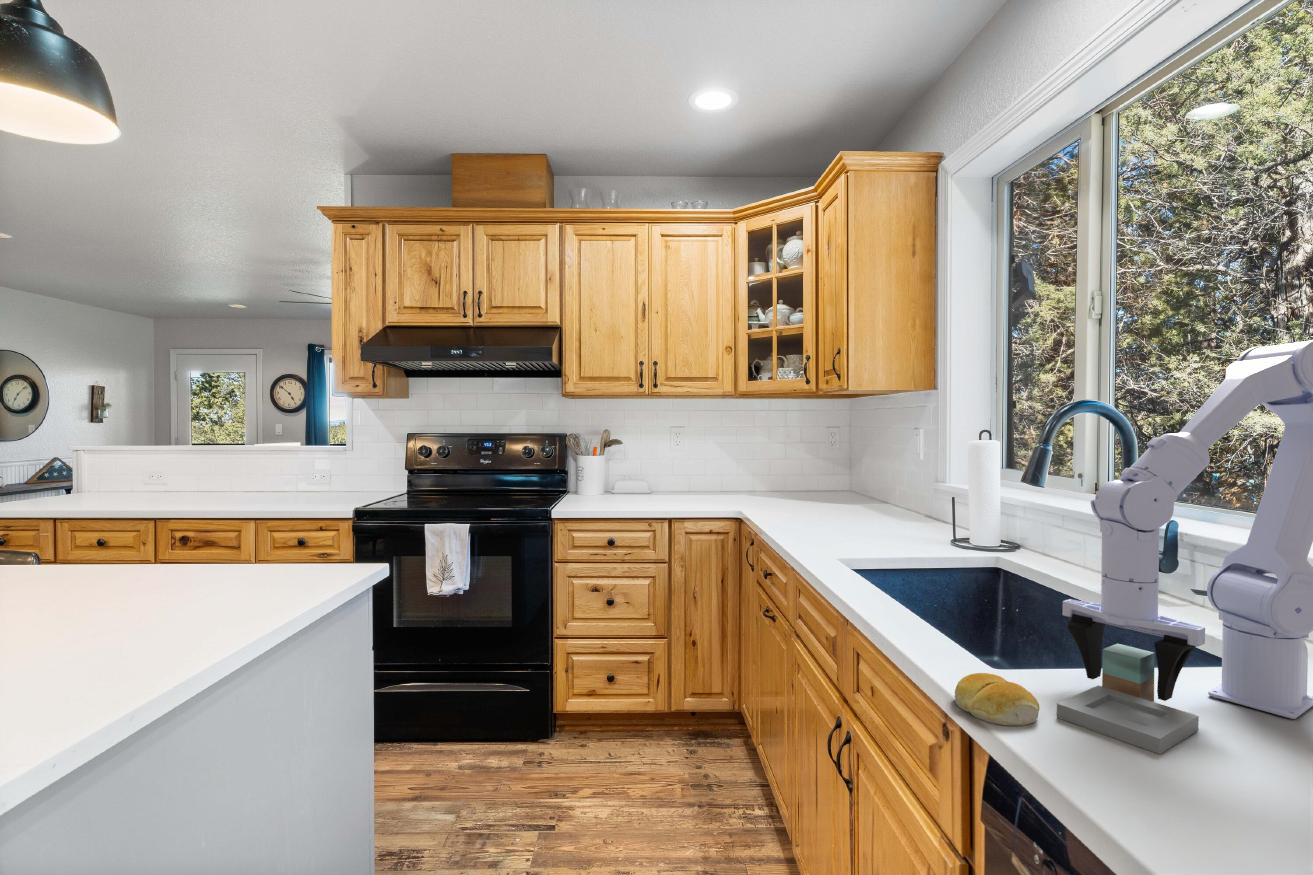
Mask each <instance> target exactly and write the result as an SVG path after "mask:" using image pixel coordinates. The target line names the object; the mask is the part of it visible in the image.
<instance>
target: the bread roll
mask: <svg viewBox="0 0 1313 875" xmlns="http://www.w3.org/2000/svg"><path fill="white" fill-rule="evenodd" d="M954 701H955V703H956V705H957V706H958V707H959V708H960V709H961V710H963V711H965V712H967V713H970V714H972V716H974V717H975V718H977V719H979V720H981V721H984V722H986V723H991V724H994V725H1000V726H1026V725H1027V726H1028V725H1030V724H1033V723H1035V722H1036V721H1037V719H1038V718H1039V712H1040V709H1041V708H1040V707H1041V706H1040V703H1039V702H1038V700H1037V698H1036V697H1035V696H1034V695H1033V694H1032V693H1031V692H1030V691H1029V690H1027V689H1026V688H1025V687H1024V686H1022V685H1021V684H1018V683H1015V682H1013V681H1012V682H1011V681H1007V679H1005V678H1004V677H1002V676H999V675H996V674H993V673H989V672H988V673H987V672H978V673H977V672H976V673H971V674H968V675H965V676H963V677H962V678H961V679H960V680H959V681H958V682H957V684H956V687H955V689H954Z"/></svg>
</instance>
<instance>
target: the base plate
mask: <svg viewBox="0 0 1313 875" xmlns="http://www.w3.org/2000/svg"><path fill="white" fill-rule="evenodd" d="M1199 717H1200V716H1199V715H1197V714H1195V713H1191V712H1187V711H1184V710H1181V709H1178V708H1174V707H1171V706H1167V705H1164V704H1161V703H1158V702H1155V701H1153V702H1152V701H1148V700H1145V699H1142V698H1138V697H1135V696H1132V695H1129V694H1125V693H1122V692H1119V691H1115V690H1112V689H1109V688H1106V687H1102V685H1096V686H1093V687H1091V688H1089V689H1087V690H1085V691H1082V692H1080V693H1078V694H1075V695H1073V696H1071V697H1069V698H1067V699H1064V700H1062V701H1061V700H1060V702H1057V703H1056V718H1058V719H1060V720H1064V721H1066V722H1070V723H1071V724H1075V725H1078V726H1080V727H1083V728H1085V729H1088V730H1091V731H1094V732H1096V733H1099V734H1101V735H1102V734H1103V735H1105V736H1107V737H1111V738H1113V739H1117V740H1119V741H1122V742H1125V743H1127V744H1129V745H1133V746H1136V747H1139V748H1141V749H1144V750H1146V751H1150V752H1153V753H1155V754H1159V755H1160V754H1163V753H1164V752H1166V751H1168V749H1170V748H1172V747H1174V746H1175V745H1177V744H1178V743H1180V742H1181V741H1183V740H1185V739H1187V738H1188V737H1190V736H1192V735H1193V734H1195V733H1196V732H1198V731H1199V724H1200V723H1199Z"/></svg>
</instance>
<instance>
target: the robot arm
mask: <svg viewBox="0 0 1313 875" xmlns="http://www.w3.org/2000/svg"><path fill="white" fill-rule="evenodd" d="M1260 405H1262V406H1263V407H1265V408H1266V409H1267V410H1269V411H1270V412H1271V413H1272V414H1275V415H1276V416H1277V417H1278V418H1279V419H1280V421H1282V423H1283V424H1284V429H1283V433H1282V436H1281V439H1280V442H1279V444H1278V447H1277V449H1276V454H1275V456H1274V460H1273V463H1272V466H1271V468H1270V472H1269V474H1268V478H1267V480H1266V484H1265V487H1264V490H1263V493H1262V496H1261V499H1260V502H1259V504H1258V508H1257V511H1256V514H1255V517H1254V520H1253V524H1252V526H1251V529H1250V533H1249V535H1248V538H1247V541H1246V543H1245V544H1244V545H1242V546H1240V547H1239V548H1236V549H1234V550H1233V551H1231V552H1228V553H1227V554H1225V556H1224V558H1223V562H1222V564H1221V566H1220V567H1219V569H1218V570H1217V571H1215V573H1213V574H1212V576H1211V577H1210V579H1209V581H1208V583H1207V585H1206V595H1207V598H1208V601H1209V603H1210V605H1211V606H1212V607H1213V608H1214V609H1215V610H1216V611H1218V620H1220V621H1222V633H1221V634H1222V637H1221V638H1222V642H1221V645H1222V646H1221V650H1222V651H1221V684H1219V685H1218V686H1216V687H1213V688H1212V689H1210V690H1209V691H1208V693H1207V695H1208V696H1209V697H1213V698H1217V699H1220V700H1223V701H1226V702H1231V703H1233V704H1238V705H1241V706H1245V707H1247V708H1248V707H1249V708H1252V709H1255V710H1259V711H1263V712H1267V713H1271V714H1274V715H1277V716H1280V717H1284V718H1287V719H1293V720H1295V719H1297V718H1298V717H1300V716H1301V715H1303V714H1304V713H1306V711H1307V710H1309V709H1310V708H1312V707H1313V695H1310V694H1308V674H1309V673H1308V667H1309V666H1308V664H1309V663H1308V662H1309V661H1308V660H1309V655H1308V654H1309V652H1308V647H1307V644H1306V641H1305V640H1304V639H1309V638H1310V636H1309V634H1310V633H1311V632H1313V566H1312V564H1311V563H1310V561H1308V557H1309V553H1310V551H1311V547H1312V544H1313V339H1312V340H1306V341H1305V340H1304V341H1296V342H1290V343H1283V344H1276V345H1269V346H1265V345H1262V346H1261V345H1259V346H1254V347H1251V348H1249V349H1247V350H1245V351H1243V352H1242V353H1241V354H1240V355H1239V356H1238V358H1237V359H1236V361H1234V362H1232V363H1231V364H1230V365H1228V367H1226V369H1225V378H1224V380H1223V381H1222V382H1221V383H1220V384H1219V385H1218V387H1216V389H1215V390H1214V391H1213V392H1212V393H1211V395H1210V396H1209V397H1208V398H1207V399H1206V400H1205V402H1204V403H1203V404H1202V405H1201V406H1200V408H1198V410H1197V411H1196V412H1195V413H1194V414H1193V416H1191V418H1190V419H1189V420H1188V422H1187V423H1186V424H1185V425H1184V426H1183V427H1182V428H1181V429H1180V431H1179V432H1175V433H1164V434H1162V435H1160V436H1159V437H1152V438H1151V439H1150V440H1149V441H1148V442H1147V443H1146V446H1147V447H1148V448H1147V449H1146V450H1145V451H1144V453H1142V455H1140V457H1139V458H1137V459H1136V461H1135V462H1133V464H1131V465H1130V467H1125V468H1124V469H1123V470H1122V471H1121V472H1120V475H1121V476H1120V478H1119V479H1113V480H1111V481H1110V480H1109V481H1107V482H1105V483H1103V485H1102V486H1100V487H1099V488H1098V490H1097V492H1096V494H1095V497H1094V498H1095V499H1092V500H1090V507H1091V510H1092V513H1093V514H1094V516H1095V517H1096V518H1097V520H1098V521H1099V524H1100V525H1099V528H1100V529H1099V532H1100V533H1101V567H1100V569H1101V572H1100V574H1101V579H1100V580H1101V581H1100V582H1101V584H1100V586H1101V587H1100V588H1101V590H1100V592H1101V593H1100V594H1101V596H1100V598H1101V599H1100V603H1098V602H1097V603H1096V602H1088V601H1082V600H1081V601H1080V600H1077V599H1072V598H1069V599H1065V600H1062V616H1064V617H1068V618H1071V619H1070V620H1069V621H1067V622H1066V625H1067V629H1068V631H1069V633H1071V636H1072V637H1073V640H1074V641H1075V643H1076V645H1077V647H1078V649H1079V652H1080V655H1081V658H1082V661H1083V664H1084V667H1085V674H1086V678H1087V679H1090V680H1094V679H1097V678H1099V677H1101V676H1102V675H1101V674H1102V645H1103V638H1104V632H1105V627H1106V625H1109V626H1113V627H1114V626H1115V627H1118V628H1122V629H1127V630H1131V631H1135V632H1139V633H1144V634H1148V635H1153V636H1157V637H1162V638H1163V639H1159V640H1157V641H1155V642H1154V643H1153V644H1154V651H1155V656H1156V662H1157V663H1156V664H1157V688H1156V689H1157V690H1156V691H1157V692H1156V693H1157V699H1158V700H1161V701H1164V702H1166V701H1168V700H1170V699H1172V698H1173V693H1174V689H1175V686H1176V683H1177V681H1178V677H1179V675H1180V673H1181V671H1182V669H1183V667H1184V666H1185V663H1186V662H1187V660H1188V659H1189V657H1190V656H1191V654H1192V653H1193V652H1194V650H1195V649H1196V647H1197V648H1198V647H1200V646H1203V645H1205V644H1206V627H1205V626H1201V625H1195V624H1191V623H1188V622H1184V621H1181V620H1178V619H1175V618H1171V617H1168V616H1164V615H1161V614H1159V586H1160V585H1159V582H1160V581H1159V578H1160V574H1159V571H1160V570H1159V568H1160V528H1161V527H1163V526H1164V525H1165V524H1167V523H1169V522H1170V521H1171V519H1172V518H1173V514H1174V508H1175V506H1174V505H1175V502H1176V501H1177V500H1178V499H1179V498H1178V496H1179V495H1180V494H1181V493H1182V492H1183V491H1184V490H1185V489H1186V488H1187V487H1188V486H1189V484H1191V483H1192V482H1193V481H1194V480H1195V479H1196V478H1197V476H1199V474H1201V472H1203V471H1204V470H1205V469H1206V468H1207V467H1208V466H1209V465H1210V462H1211V459H1210V458H1211V457H1210V452H1209V449H1210V448H1211V447H1212V446H1214V444H1216V443H1217V442H1218V441H1219V440H1220V439H1222V437H1224V436H1225V435H1226V434H1227V433H1229V431H1231V430H1232V429H1233V428H1234V427H1235V426H1237V424H1238V423H1240V422H1241V421H1242V420H1243V419H1244V418H1245V417H1246V416H1248V415H1249V414H1250V413H1251V412H1252V411H1253V410H1255V409H1256V408H1257V407H1258V406H1260ZM1267 574H1271V575H1275V577H1273V576H1271V575H1270V576H1269V575H1267Z"/></svg>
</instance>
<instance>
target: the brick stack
mask: <svg viewBox="0 0 1313 875" xmlns="http://www.w3.org/2000/svg"><path fill="white" fill-rule="evenodd" d="M1155 656H1156V652H1153V651H1149V650H1145V649H1141V648H1137V647H1133V646H1130V645H1125V644H1120V643H1116V644H1113V645H1110V646H1107V647H1105V648H1102V664H1101V674H1102V675H1101V676H1102V677H1101V680H1102V681H1101V682H1102V683H1101V684H1102V685H1101V686H1102V687H1106V688H1109V689H1112V690H1115V691H1119V692H1122V693H1125V694H1129V695H1132V696H1135V697H1138V698H1142V699H1145V700H1148V701H1152V702H1155Z"/></svg>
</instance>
